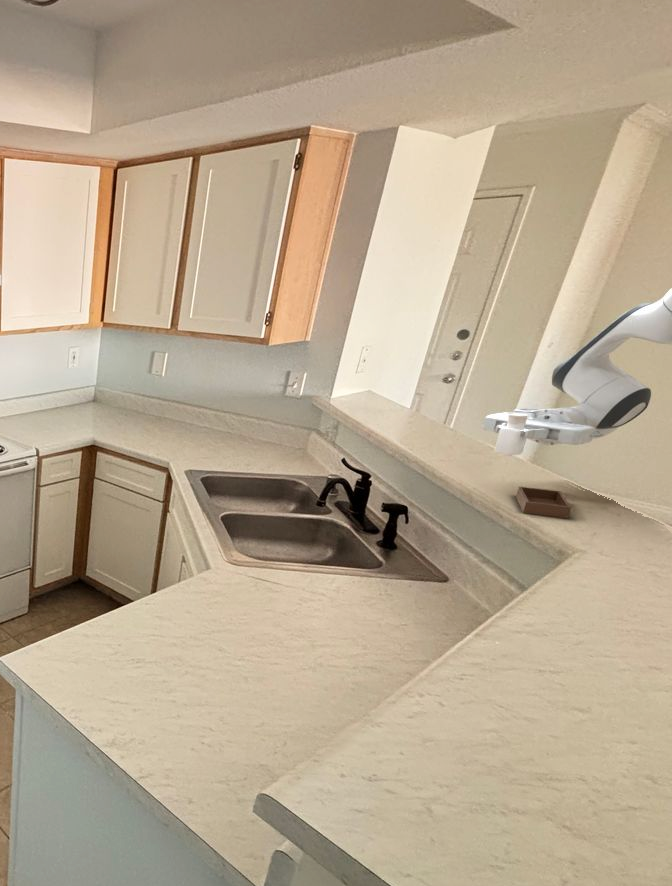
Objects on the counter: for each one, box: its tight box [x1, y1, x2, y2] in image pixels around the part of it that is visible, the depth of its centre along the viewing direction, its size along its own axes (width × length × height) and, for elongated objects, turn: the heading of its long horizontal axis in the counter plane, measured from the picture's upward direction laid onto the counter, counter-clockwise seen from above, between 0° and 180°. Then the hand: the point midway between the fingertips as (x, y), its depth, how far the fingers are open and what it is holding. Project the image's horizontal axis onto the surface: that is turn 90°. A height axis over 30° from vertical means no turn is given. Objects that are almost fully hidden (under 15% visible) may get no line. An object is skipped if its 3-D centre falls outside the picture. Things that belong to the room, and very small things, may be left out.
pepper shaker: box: [493, 414, 528, 456], centre depth 139 cm, size 4×4×10 cm
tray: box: [515, 486, 572, 519], centre depth 130 cm, size 13×7×2 cm, turn 143°
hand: (510, 431), depth 139 cm, fingers closed on pepper shaker, 4 cm apart
